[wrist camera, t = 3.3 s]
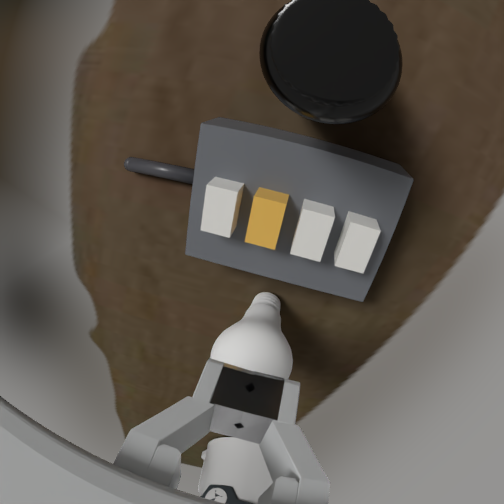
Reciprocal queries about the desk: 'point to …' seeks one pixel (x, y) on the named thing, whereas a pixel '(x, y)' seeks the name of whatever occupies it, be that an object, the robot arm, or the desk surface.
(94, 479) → the robot arm
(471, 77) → the desk surface
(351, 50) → the supplement bottle
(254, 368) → the lightbulb
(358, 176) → the breaker strip
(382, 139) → the desk surface
